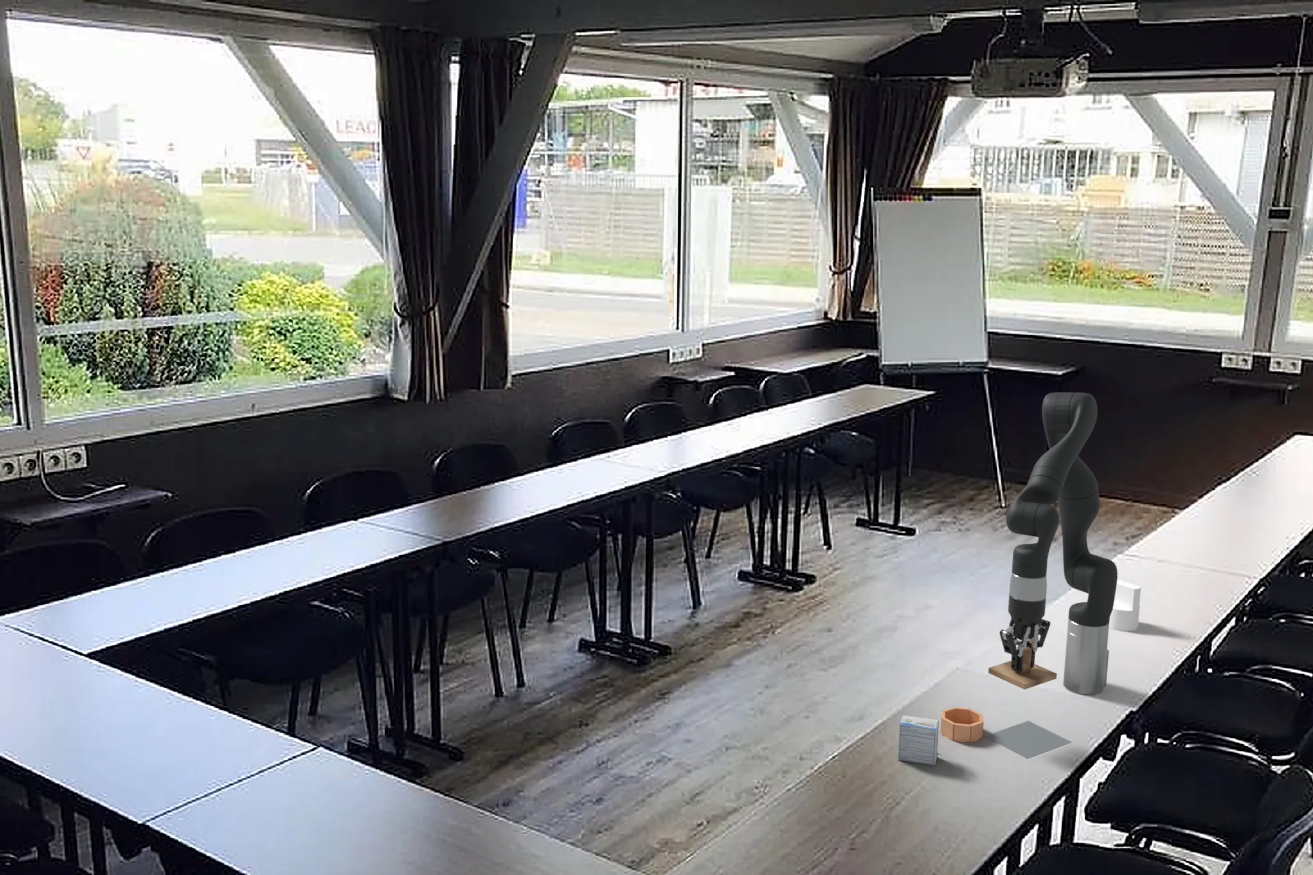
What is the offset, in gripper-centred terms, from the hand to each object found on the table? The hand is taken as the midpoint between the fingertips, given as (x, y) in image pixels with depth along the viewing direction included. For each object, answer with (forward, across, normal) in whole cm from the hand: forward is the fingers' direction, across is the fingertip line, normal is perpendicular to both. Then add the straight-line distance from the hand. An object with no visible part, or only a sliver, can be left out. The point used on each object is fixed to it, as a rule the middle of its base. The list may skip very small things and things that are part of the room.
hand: (1022, 668), depth 257 cm
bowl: (+17, +8, -9) cm, 21 cm away
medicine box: (+18, +24, -6) cm, 30 cm away
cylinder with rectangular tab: (+17, -77, -31) cm, 84 cm away
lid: (+2, 0, 0) cm, 2 cm away
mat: (+17, -2, +1) cm, 17 cm away
